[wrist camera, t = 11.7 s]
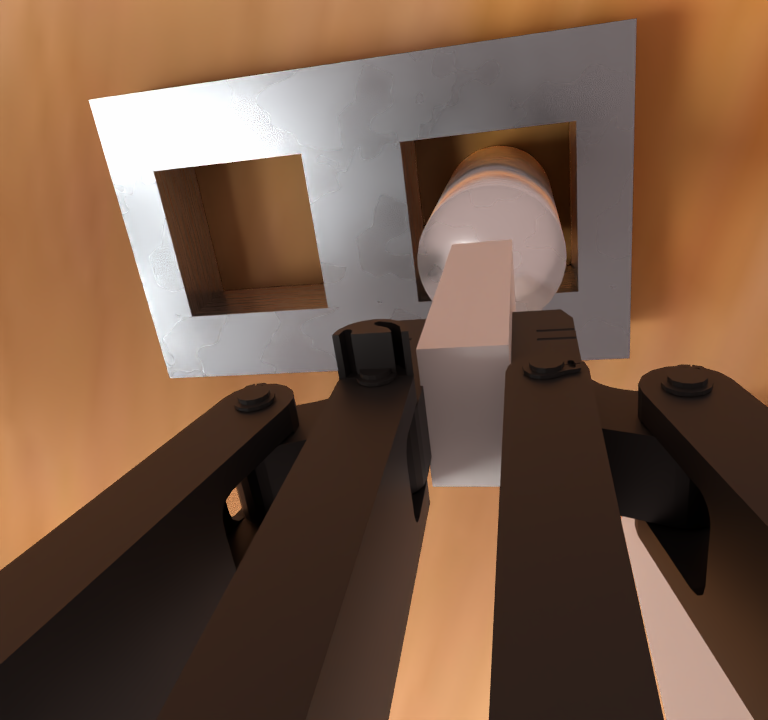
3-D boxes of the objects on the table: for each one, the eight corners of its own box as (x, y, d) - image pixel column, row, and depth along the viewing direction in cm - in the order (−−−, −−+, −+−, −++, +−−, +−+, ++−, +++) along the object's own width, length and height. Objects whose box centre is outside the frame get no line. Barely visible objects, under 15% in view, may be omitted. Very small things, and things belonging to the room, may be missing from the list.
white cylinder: (450, 254, 29) (424, 332, 21) (441, 151, 27) (409, 193, 19) (552, 247, 28) (567, 325, 20) (550, 139, 26) (565, 178, 18)
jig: (202, 347, 33) (169, 378, 30) (135, 94, 28) (88, 100, 25) (617, 325, 29) (629, 358, 26) (620, 22, 24) (636, 18, 21)
